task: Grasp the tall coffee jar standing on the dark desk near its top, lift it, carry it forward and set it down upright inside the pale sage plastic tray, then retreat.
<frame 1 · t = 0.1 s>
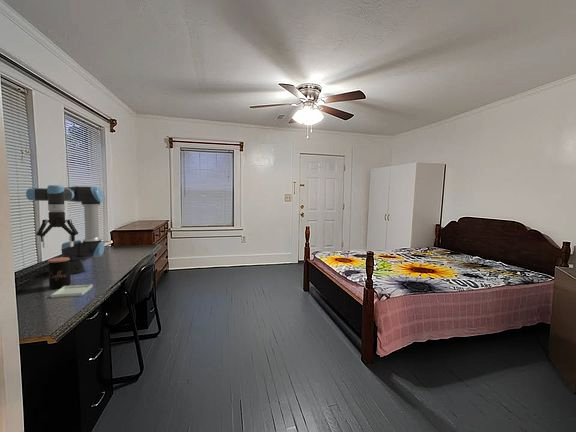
hand: (58, 246, 167), 28 cm above the table, fingers open, 13 cm apart
coffee jar: (60, 287, 179), on the table
sage tray: (72, 292, 170), on the table
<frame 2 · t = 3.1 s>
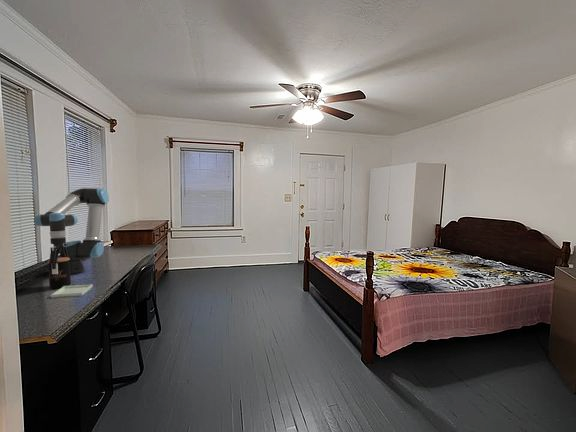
hand: (59, 271, 178), 10 cm above the table, fingers closed on coffee jar, 11 cm apart
coffee jar: (60, 286, 179), on the table, touching gripper
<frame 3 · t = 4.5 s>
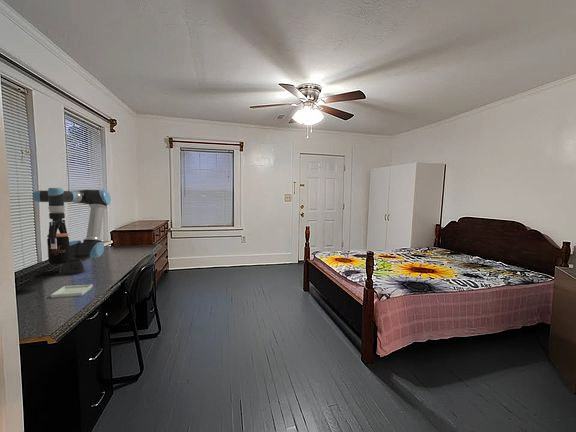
hand: (58, 247, 177), 26 cm above the table, fingers closed on coffee jar, 11 cm apart
coffee jar: (59, 262, 178), point 16 cm above the table, touching gripper
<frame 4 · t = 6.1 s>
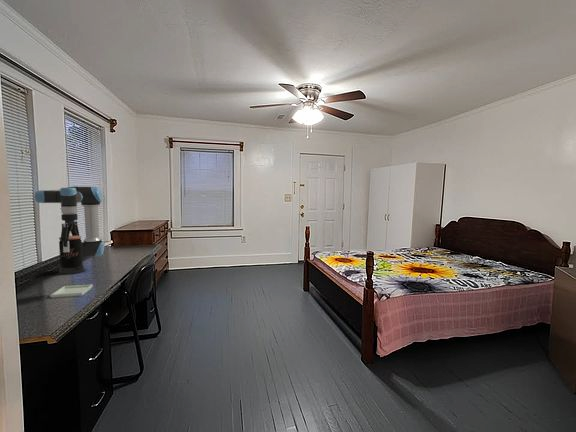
hand: (71, 250, 168), 26 cm above the table, fingers closed on coffee jar, 11 cm apart
coffee jar: (71, 266, 169), point 16 cm above the table, touching gripper
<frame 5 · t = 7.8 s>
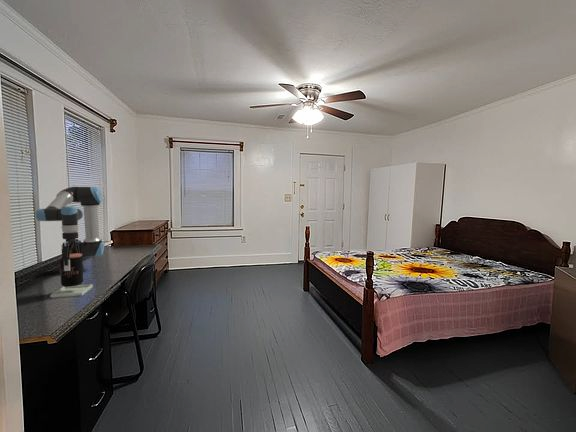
hand: (71, 268, 169), 15 cm above the table, fingers closed on coffee jar, 11 cm apart
coffee jar: (72, 284, 169), point 5 cm above the table, touching gripper
when the fingers open (12 cm above the table, at t = 9.1 s): coffee jar drops 1 cm, resting on sage tray.
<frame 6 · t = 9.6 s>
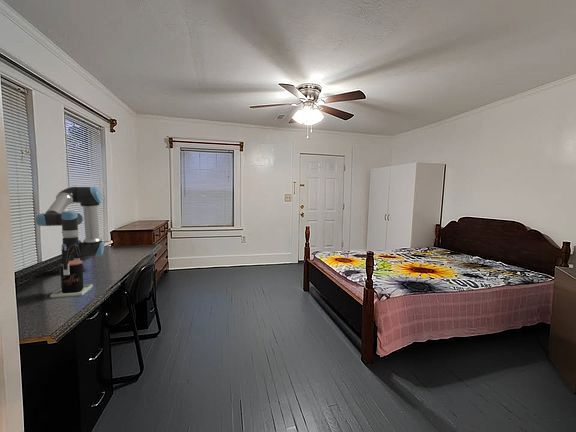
hand: (72, 271, 169), 13 cm above the table, fingers open, 13 cm apart
coffee jar: (72, 291, 170), resting on sage tray
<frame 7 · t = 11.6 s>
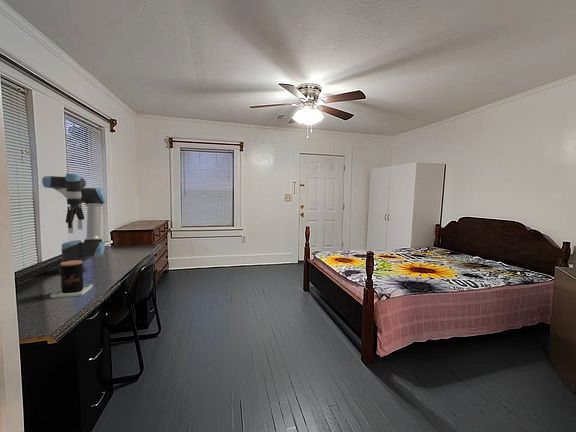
hand: (76, 231, 180), 36 cm above the table, fingers open, 13 cm apart
nothing on the table moved.
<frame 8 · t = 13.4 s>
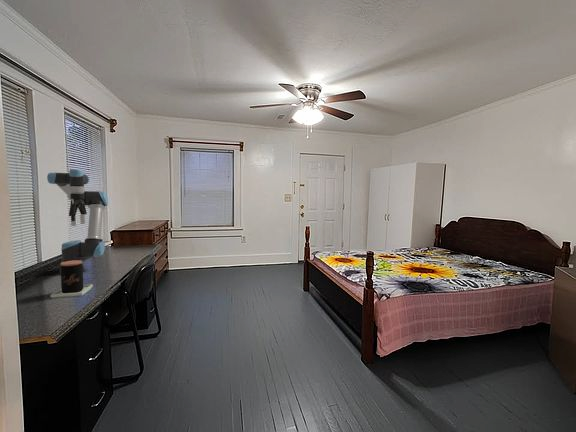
hand: (78, 225, 187), 39 cm above the table, fingers open, 13 cm apart
nothing on the table moved.
at the end: coffee jar 0.1 cm off-centre on the sage tray, point 0.3 cm above the sage tray's base; coffee jar tilted 0°; the gripper is holding nothing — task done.
